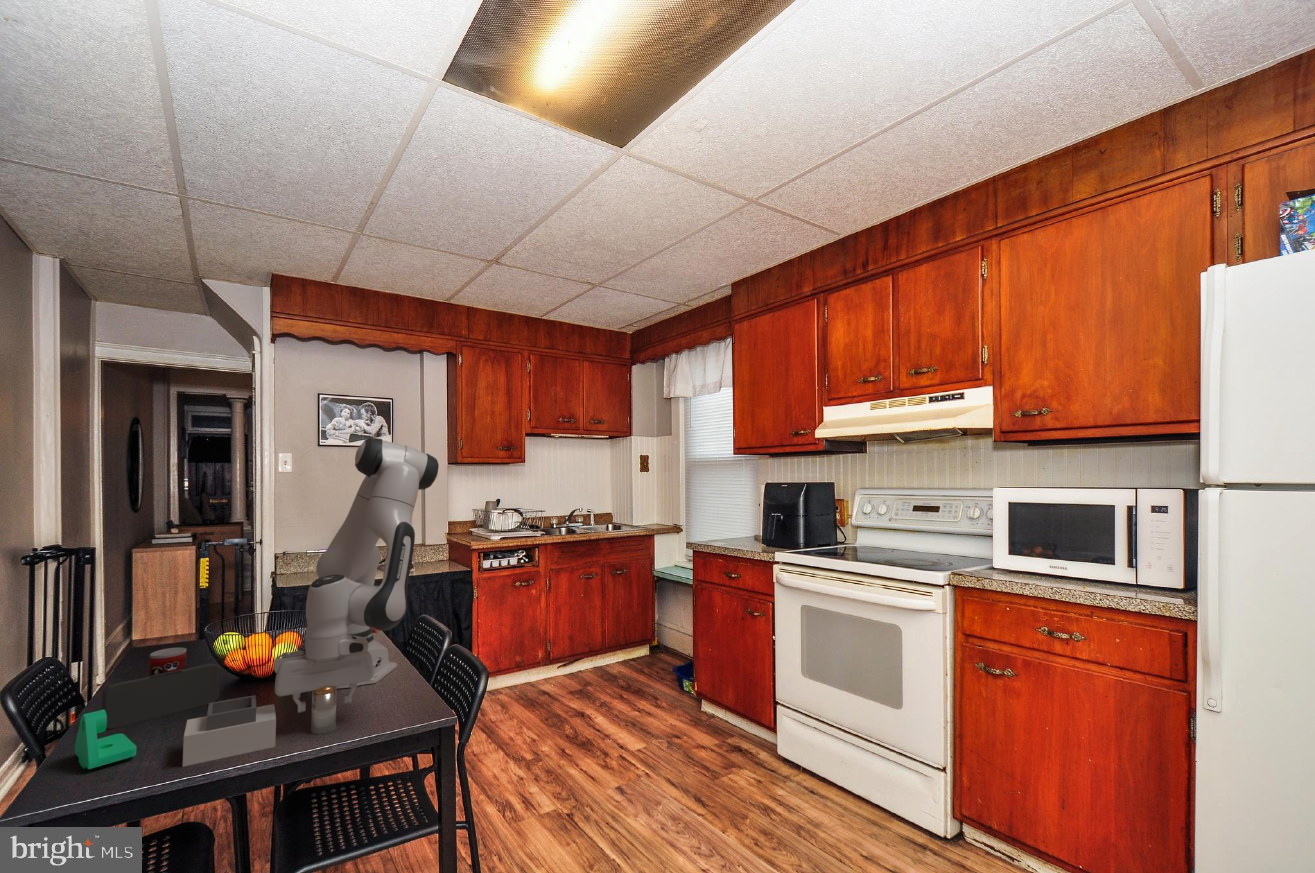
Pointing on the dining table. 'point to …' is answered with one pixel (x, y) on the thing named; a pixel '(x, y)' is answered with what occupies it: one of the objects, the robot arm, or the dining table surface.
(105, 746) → the camera mount
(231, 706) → the grey pedestal block
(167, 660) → the canned food
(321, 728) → the glass jar
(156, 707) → the handheld gaming console
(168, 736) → the dining table surface
